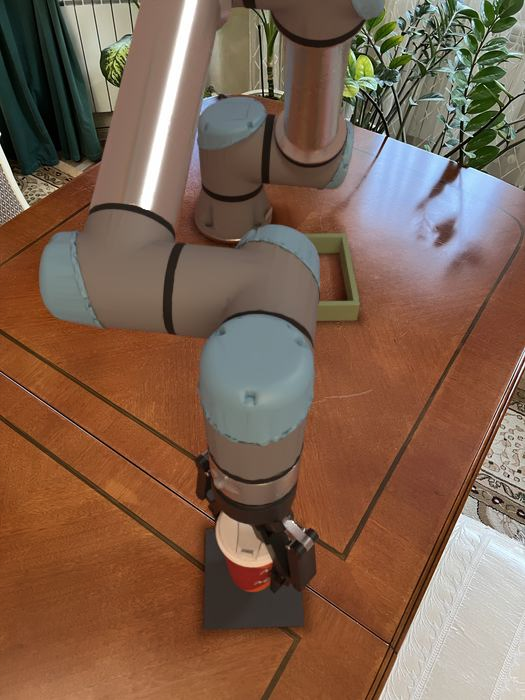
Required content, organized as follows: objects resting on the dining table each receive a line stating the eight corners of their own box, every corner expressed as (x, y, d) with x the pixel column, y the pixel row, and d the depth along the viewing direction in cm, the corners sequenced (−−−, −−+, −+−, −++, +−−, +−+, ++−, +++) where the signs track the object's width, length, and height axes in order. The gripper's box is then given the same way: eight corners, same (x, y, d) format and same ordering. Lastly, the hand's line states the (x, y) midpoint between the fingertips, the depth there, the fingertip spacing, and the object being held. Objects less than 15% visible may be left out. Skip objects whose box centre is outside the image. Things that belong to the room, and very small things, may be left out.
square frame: (249, 250, 109) (249, 234, 105) (343, 249, 109) (346, 233, 106) (252, 322, 98) (252, 306, 94) (356, 320, 98) (360, 304, 95)
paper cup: (278, 608, 66) (283, 570, 55) (213, 594, 67) (206, 554, 56) (289, 542, 71) (296, 495, 60) (229, 530, 72) (225, 481, 61)
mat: (205, 530, 75) (205, 529, 75) (296, 528, 76) (297, 526, 75) (203, 630, 68) (203, 629, 68) (304, 626, 68) (304, 625, 68)
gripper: (140, 420, 50) (168, 520, 68) (321, 587, 42) (299, 650, 60) (202, 370, 54) (214, 477, 72) (381, 515, 45) (343, 595, 63)
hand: (253, 556), depth 66 cm, fingers closed on paper cup, 8 cm apart
